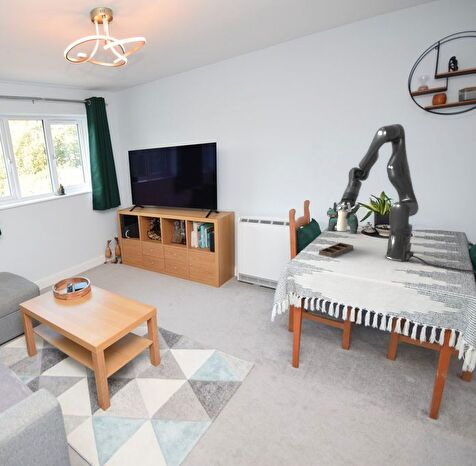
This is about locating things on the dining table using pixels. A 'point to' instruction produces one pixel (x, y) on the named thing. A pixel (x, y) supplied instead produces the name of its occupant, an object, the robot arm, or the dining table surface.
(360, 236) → the dining table surface
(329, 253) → the tray
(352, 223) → the ceramic cat
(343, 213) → the dispenser
